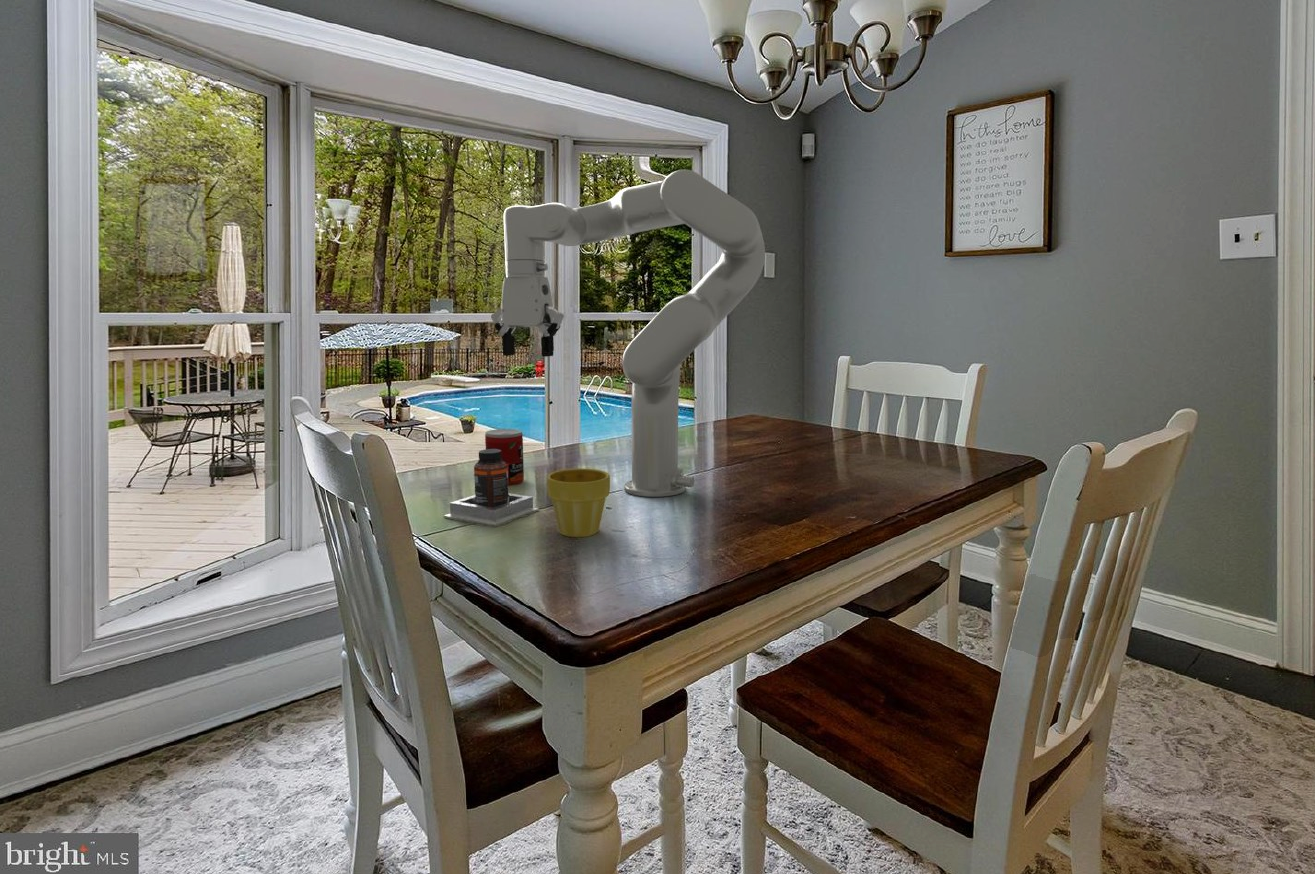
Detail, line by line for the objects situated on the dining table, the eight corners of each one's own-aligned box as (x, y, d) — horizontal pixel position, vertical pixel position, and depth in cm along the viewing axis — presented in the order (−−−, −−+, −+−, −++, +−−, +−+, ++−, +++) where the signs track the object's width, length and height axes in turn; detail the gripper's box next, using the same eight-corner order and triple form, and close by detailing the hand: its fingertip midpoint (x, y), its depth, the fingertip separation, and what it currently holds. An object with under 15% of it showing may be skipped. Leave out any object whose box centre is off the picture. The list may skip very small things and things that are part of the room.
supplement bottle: (515, 509, 136) (513, 448, 134) (498, 517, 130) (496, 454, 128) (487, 506, 138) (484, 446, 136) (469, 514, 132) (466, 452, 130)
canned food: (516, 486, 154) (514, 435, 153) (480, 485, 156) (478, 433, 154) (529, 478, 162) (528, 429, 160) (495, 477, 163) (493, 428, 162)
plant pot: (611, 540, 119) (610, 481, 117) (546, 541, 118) (544, 482, 116) (610, 522, 129) (609, 467, 127) (550, 523, 128) (549, 468, 126)
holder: (539, 510, 136) (538, 496, 136) (495, 527, 126) (494, 511, 125) (489, 502, 142) (489, 488, 141) (444, 517, 131) (443, 503, 131)
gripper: (571, 269, 147) (573, 355, 150) (502, 272, 155) (505, 354, 158) (549, 268, 141) (552, 357, 144) (478, 271, 149) (482, 356, 151)
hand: (528, 355), depth 151 cm, fingers open, 9 cm apart
